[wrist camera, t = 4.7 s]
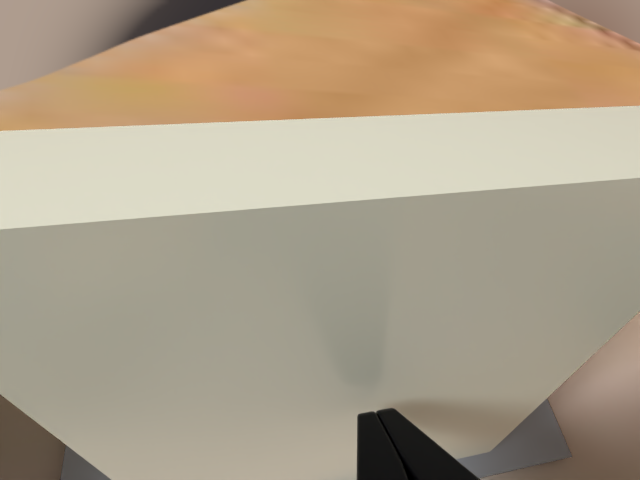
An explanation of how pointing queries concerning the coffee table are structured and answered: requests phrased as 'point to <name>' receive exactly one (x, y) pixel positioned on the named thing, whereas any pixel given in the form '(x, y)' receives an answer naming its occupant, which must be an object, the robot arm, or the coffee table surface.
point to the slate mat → (510, 454)
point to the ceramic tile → (309, 282)
